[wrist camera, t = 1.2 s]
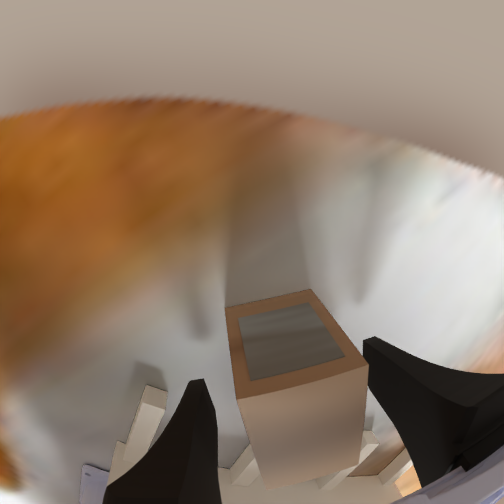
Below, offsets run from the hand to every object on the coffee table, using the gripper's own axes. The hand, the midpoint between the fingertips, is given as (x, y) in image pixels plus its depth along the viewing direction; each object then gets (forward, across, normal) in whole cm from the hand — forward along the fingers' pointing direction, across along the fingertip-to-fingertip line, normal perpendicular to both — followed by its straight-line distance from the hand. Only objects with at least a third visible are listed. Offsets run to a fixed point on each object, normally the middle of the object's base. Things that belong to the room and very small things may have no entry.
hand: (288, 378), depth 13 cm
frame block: (+2, 0, 0) cm, 2 cm away
